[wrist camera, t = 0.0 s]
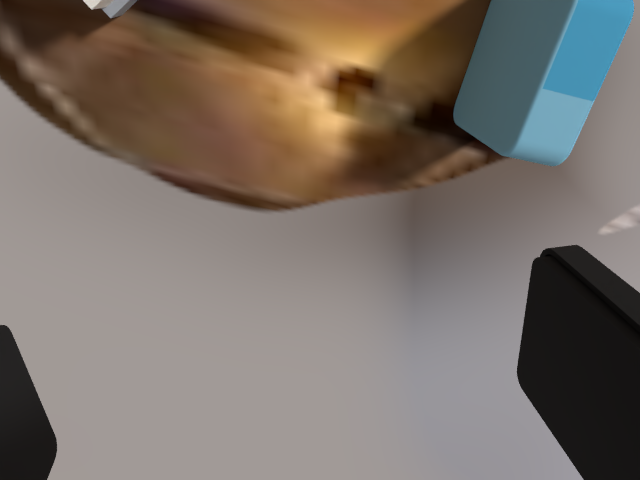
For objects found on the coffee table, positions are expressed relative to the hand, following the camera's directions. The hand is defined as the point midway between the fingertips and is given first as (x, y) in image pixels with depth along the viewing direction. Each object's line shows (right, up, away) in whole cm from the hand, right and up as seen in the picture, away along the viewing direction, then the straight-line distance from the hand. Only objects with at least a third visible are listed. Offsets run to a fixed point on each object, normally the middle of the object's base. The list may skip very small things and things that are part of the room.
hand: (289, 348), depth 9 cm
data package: (+16, +18, +36) cm, 43 cm away
